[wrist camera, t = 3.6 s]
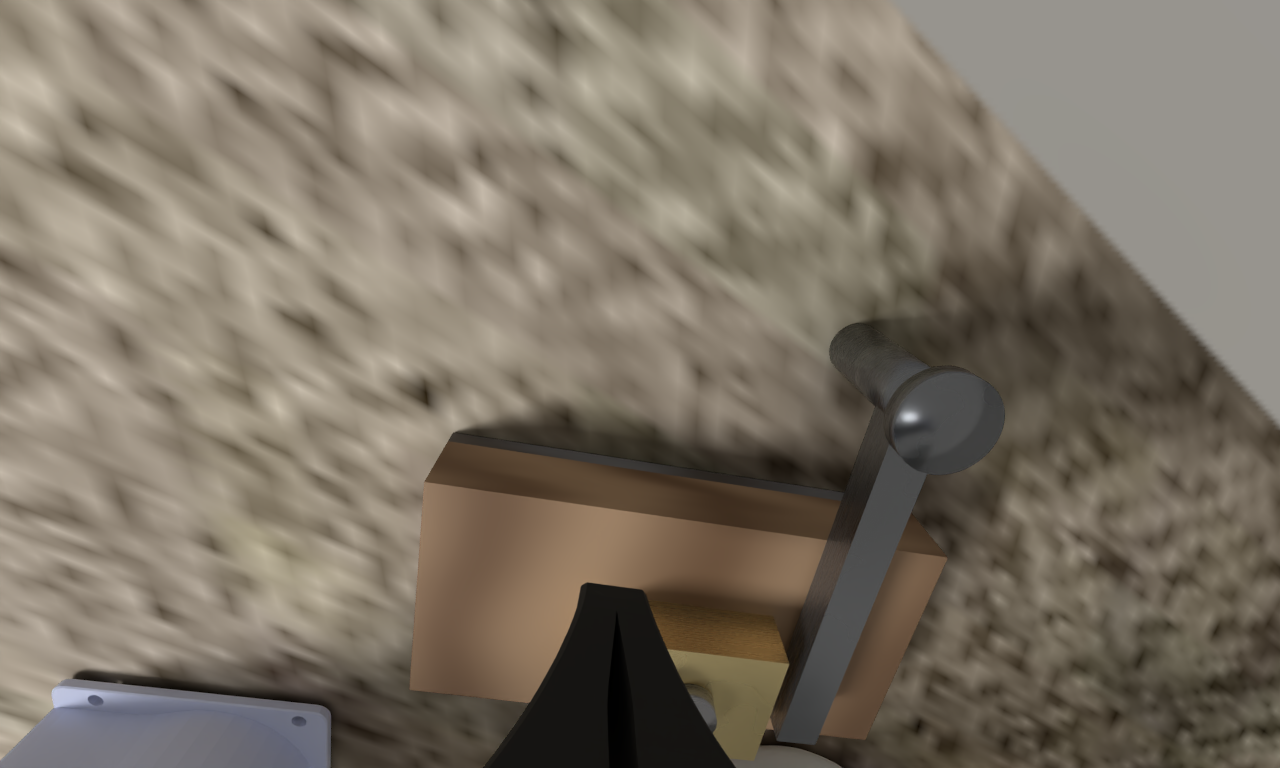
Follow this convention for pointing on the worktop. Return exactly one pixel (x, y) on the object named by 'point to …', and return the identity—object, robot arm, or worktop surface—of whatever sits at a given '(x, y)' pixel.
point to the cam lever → (878, 506)
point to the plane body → (628, 564)
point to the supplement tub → (784, 759)
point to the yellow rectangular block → (726, 669)
